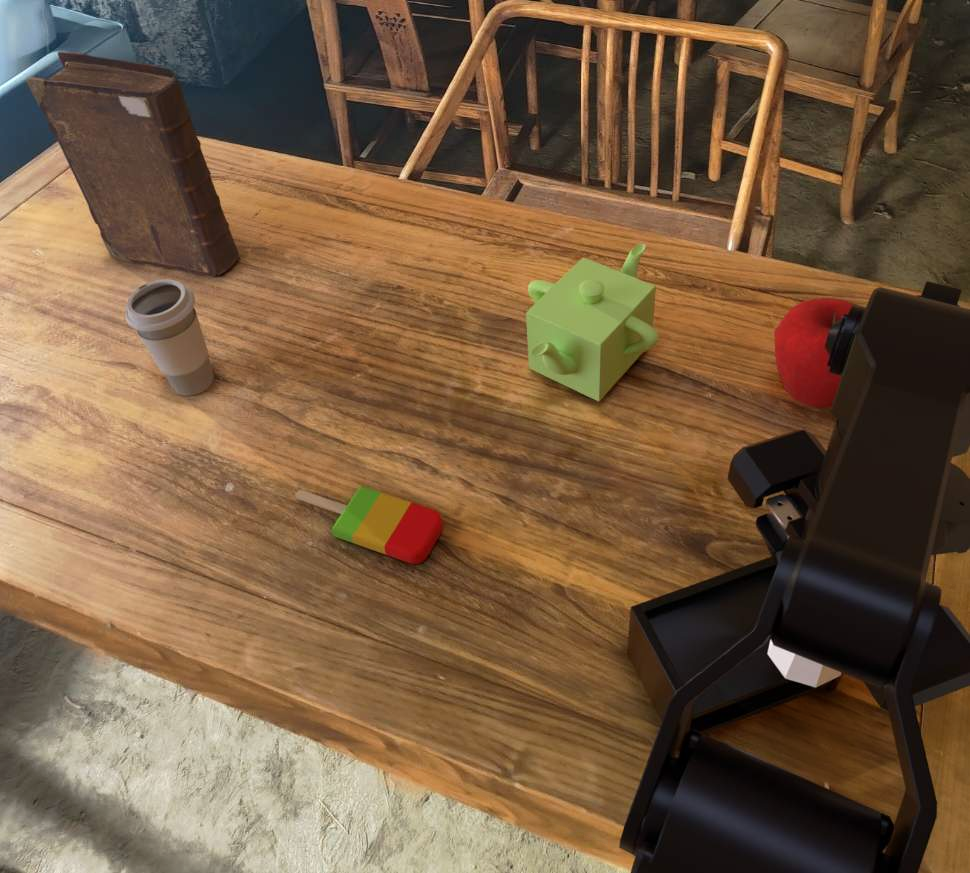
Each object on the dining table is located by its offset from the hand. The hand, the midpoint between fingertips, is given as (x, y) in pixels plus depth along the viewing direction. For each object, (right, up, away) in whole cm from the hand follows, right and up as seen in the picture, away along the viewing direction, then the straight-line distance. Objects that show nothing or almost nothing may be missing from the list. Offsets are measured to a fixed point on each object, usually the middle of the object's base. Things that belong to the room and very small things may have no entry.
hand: (817, 625), depth 63 cm
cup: (-55, +19, +39) cm, 70 cm away
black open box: (-3, -6, +12) cm, 14 cm away
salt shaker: (0, -3, +3) cm, 4 cm away
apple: (+11, +17, +31) cm, 37 cm away
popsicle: (-34, +5, +25) cm, 42 cm away
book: (-62, +35, +54) cm, 89 cm away
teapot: (-11, +21, +36) cm, 43 cm away
